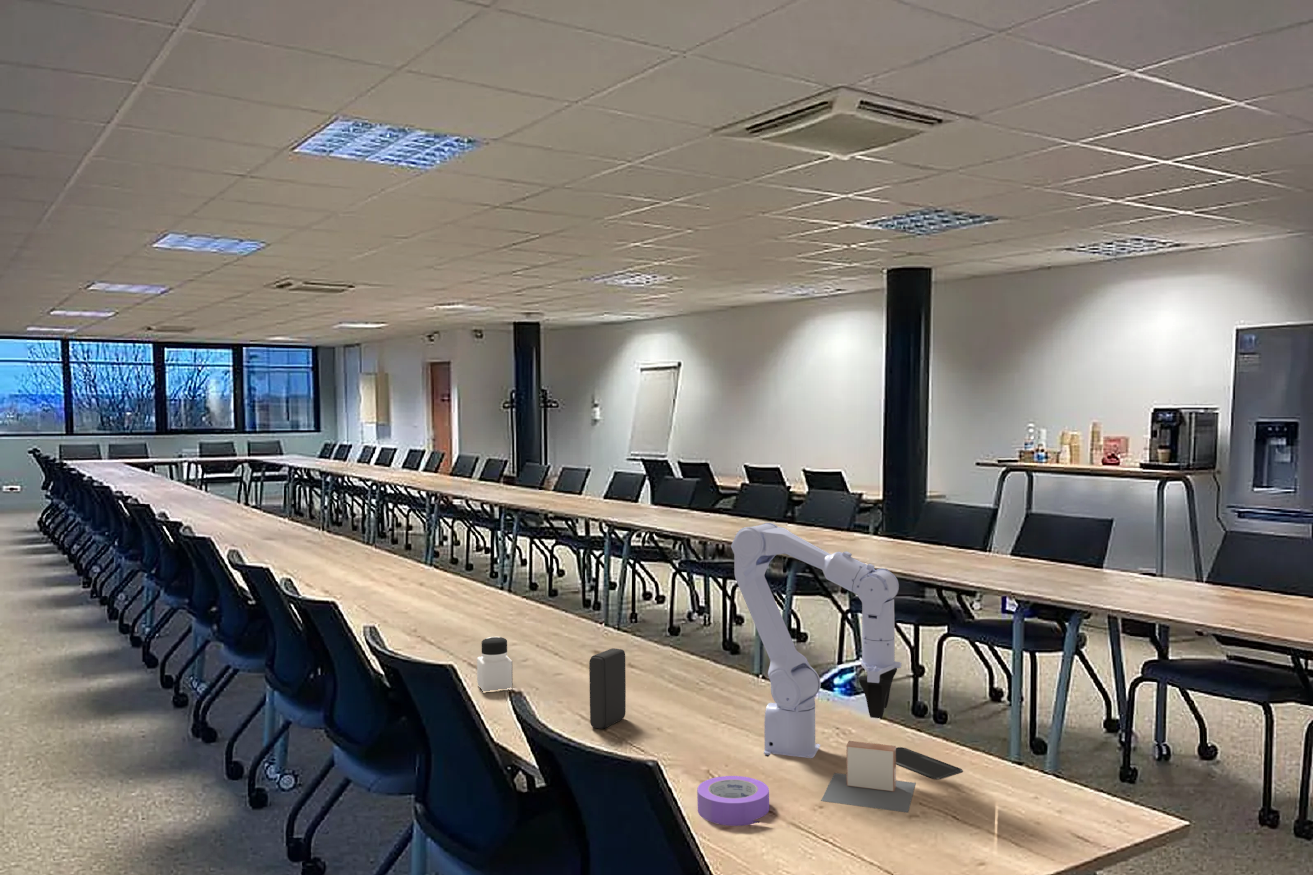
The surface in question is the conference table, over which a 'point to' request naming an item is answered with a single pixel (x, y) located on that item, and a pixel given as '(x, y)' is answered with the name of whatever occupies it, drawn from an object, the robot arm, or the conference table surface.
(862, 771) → the light brown rectangular block
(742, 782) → the masking tape
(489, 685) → the medicine bottle
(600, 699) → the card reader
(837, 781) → the mat
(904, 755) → the phone
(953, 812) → the conference table surface
